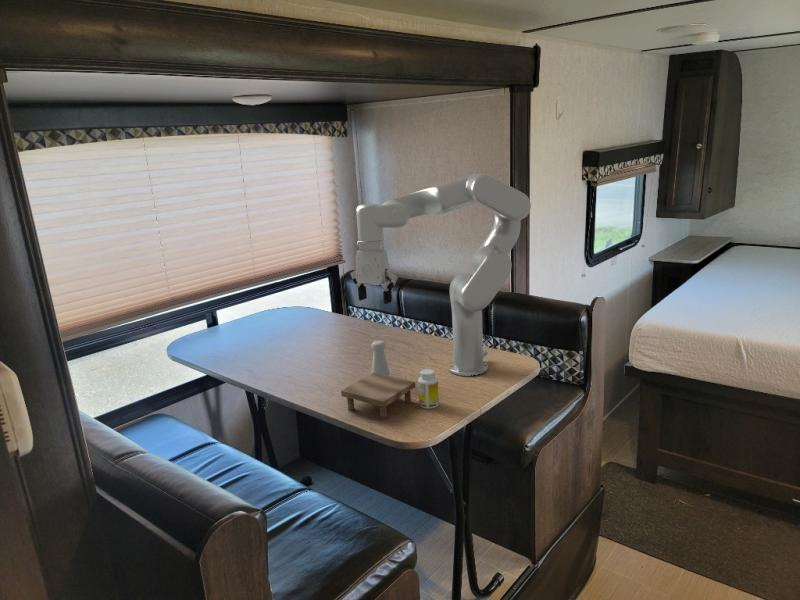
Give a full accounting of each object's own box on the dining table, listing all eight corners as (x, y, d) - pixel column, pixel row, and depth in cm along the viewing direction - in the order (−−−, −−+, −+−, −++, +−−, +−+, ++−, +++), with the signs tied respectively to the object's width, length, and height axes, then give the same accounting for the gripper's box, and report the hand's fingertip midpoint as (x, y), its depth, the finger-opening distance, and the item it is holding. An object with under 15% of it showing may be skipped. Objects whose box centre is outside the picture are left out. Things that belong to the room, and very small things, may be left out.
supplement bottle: (440, 401, 164) (439, 368, 162) (436, 410, 159) (435, 376, 156) (422, 400, 166) (420, 367, 163) (417, 408, 161) (415, 374, 158)
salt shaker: (380, 375, 186) (377, 337, 183) (393, 379, 182) (391, 340, 179) (368, 381, 182) (365, 342, 178) (381, 385, 178) (378, 346, 175)
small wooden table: (375, 391, 174) (373, 372, 173) (416, 401, 165) (415, 381, 164) (342, 410, 162) (341, 390, 161) (385, 422, 154) (383, 401, 152)
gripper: (341, 246, 173) (345, 301, 177) (387, 249, 163) (390, 307, 167) (357, 242, 179) (361, 295, 183) (402, 245, 169) (405, 301, 173)
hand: (375, 301), depth 175 cm, fingers open, 9 cm apart
